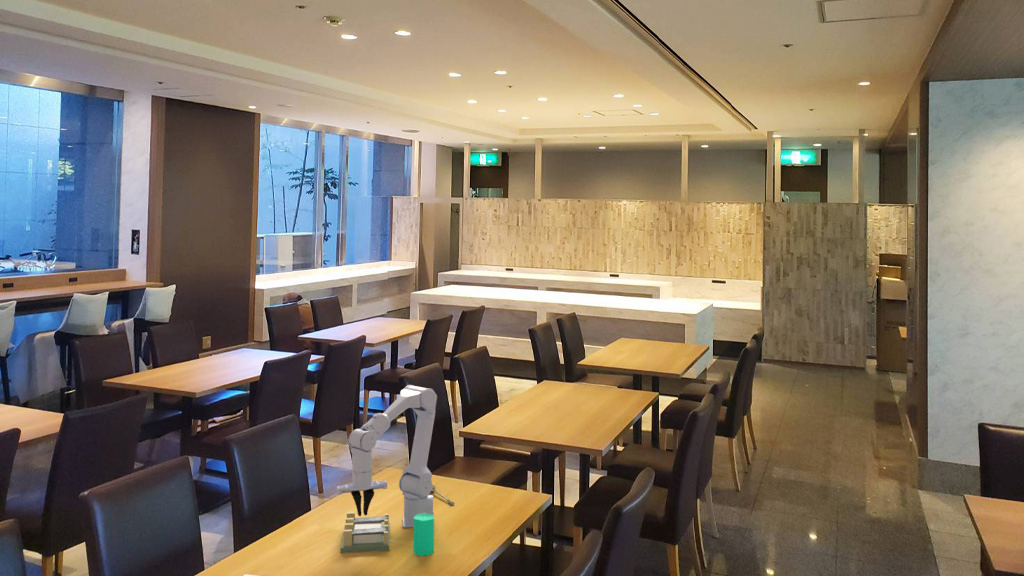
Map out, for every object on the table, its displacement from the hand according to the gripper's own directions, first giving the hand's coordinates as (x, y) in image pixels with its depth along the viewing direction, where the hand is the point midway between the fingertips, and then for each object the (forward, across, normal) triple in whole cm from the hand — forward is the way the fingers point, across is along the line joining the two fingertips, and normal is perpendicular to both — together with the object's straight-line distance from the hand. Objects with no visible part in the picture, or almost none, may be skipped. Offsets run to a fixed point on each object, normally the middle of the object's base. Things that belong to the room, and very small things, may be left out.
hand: (362, 514), depth 224 cm
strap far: (+5, -4, -8) cm, 10 cm away
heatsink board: (+9, -2, -4) cm, 10 cm away
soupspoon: (+10, -32, -32) cm, 47 cm away
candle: (+10, -16, +11) cm, 21 cm away
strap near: (+5, -1, +1) cm, 6 cm away
